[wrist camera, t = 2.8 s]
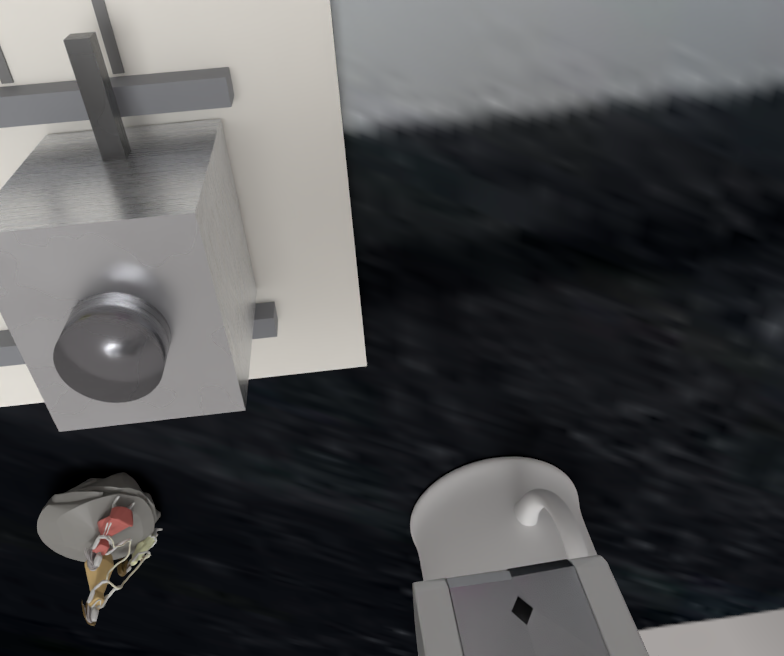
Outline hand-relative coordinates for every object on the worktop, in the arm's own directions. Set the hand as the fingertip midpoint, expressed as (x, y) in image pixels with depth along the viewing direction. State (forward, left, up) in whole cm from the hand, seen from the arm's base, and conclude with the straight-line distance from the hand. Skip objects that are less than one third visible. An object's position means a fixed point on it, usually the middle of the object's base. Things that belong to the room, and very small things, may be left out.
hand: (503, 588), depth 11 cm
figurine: (+14, +14, -16) cm, 25 cm away
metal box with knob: (+8, -2, -14) cm, 16 cm away
